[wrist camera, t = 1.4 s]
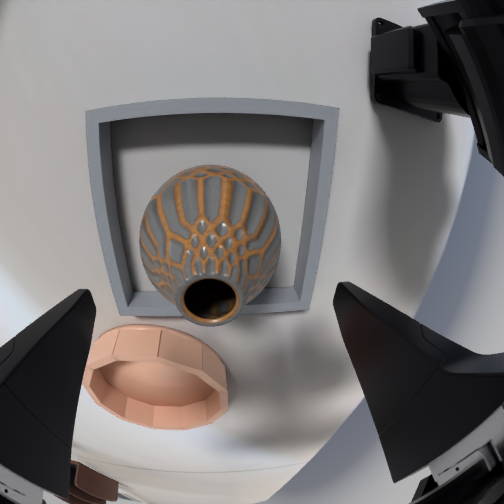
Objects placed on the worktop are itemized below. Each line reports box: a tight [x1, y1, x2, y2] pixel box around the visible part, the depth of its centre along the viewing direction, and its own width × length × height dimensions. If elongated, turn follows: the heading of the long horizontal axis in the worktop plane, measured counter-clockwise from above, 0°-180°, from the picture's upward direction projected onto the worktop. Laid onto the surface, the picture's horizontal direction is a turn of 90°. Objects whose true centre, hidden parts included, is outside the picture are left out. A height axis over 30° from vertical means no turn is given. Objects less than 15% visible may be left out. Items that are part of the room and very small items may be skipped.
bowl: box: [82, 324, 228, 430], centre depth 22 cm, size 13×13×3 cm
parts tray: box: [86, 98, 339, 316], centre depth 16 cm, size 14×14×2 cm
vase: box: [140, 165, 281, 326], centre depth 13 cm, size 7×7×9 cm
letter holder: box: [53, 460, 118, 504], centre depth 40 cm, size 10×20×14 cm, turn 11°
